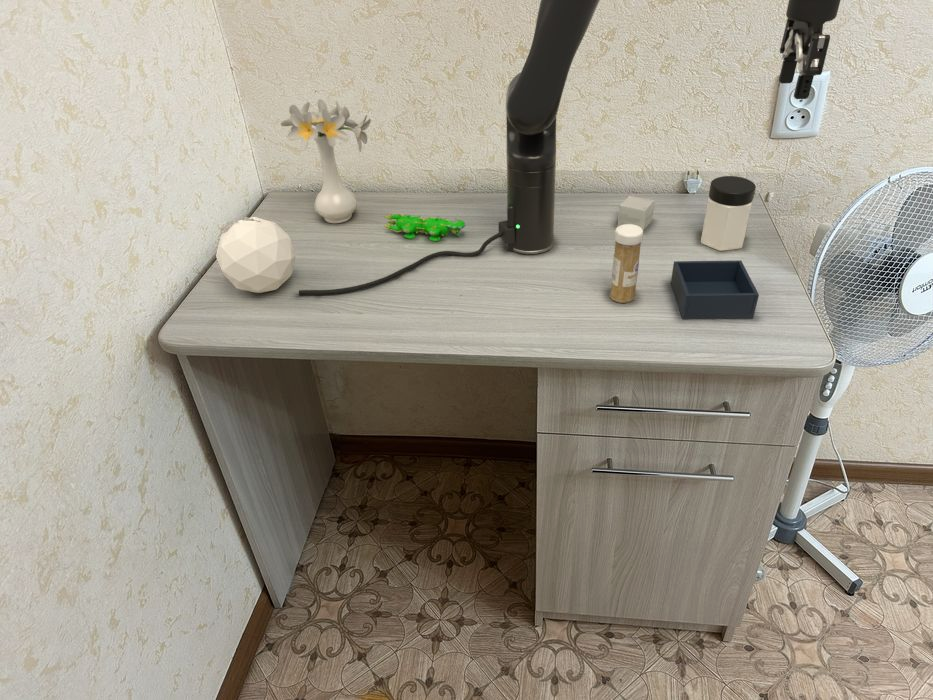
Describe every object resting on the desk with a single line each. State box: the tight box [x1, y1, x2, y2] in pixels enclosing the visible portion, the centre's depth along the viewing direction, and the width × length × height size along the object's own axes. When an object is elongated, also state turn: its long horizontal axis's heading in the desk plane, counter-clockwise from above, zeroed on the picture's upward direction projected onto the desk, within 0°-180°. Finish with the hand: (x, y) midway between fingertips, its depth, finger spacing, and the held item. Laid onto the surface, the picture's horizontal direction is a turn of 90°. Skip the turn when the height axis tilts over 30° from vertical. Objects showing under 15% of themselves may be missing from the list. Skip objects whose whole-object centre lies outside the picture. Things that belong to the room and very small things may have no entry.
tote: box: [670, 259, 760, 320], centre depth 119 cm, size 12×11×5 cm
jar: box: [700, 175, 757, 252], centre depth 133 cm, size 9×8×12 cm
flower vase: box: [280, 98, 372, 224], centre depth 146 cm, size 13×18×25 cm
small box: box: [617, 195, 655, 231], centre depth 143 cm, size 6×6×5 cm
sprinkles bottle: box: [609, 224, 644, 304], centre depth 118 cm, size 5×5×14 cm
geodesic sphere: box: [215, 215, 297, 294], centre depth 127 cm, size 15×14×14 cm
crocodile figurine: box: [383, 213, 467, 242], centre depth 144 cm, size 7×18×4 cm, turn 74°
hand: (792, 90), depth 118 cm, fingers open, 8 cm apart
